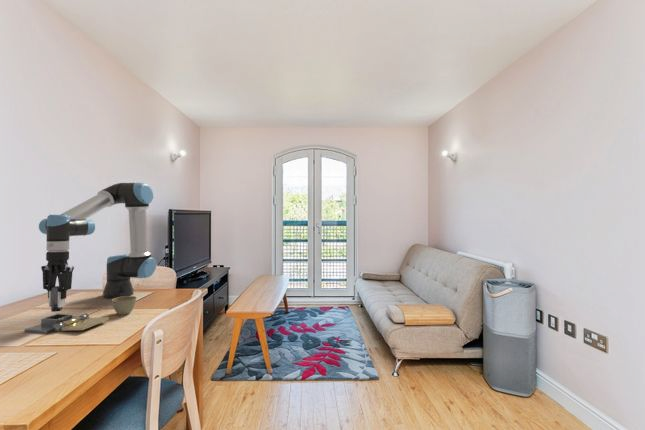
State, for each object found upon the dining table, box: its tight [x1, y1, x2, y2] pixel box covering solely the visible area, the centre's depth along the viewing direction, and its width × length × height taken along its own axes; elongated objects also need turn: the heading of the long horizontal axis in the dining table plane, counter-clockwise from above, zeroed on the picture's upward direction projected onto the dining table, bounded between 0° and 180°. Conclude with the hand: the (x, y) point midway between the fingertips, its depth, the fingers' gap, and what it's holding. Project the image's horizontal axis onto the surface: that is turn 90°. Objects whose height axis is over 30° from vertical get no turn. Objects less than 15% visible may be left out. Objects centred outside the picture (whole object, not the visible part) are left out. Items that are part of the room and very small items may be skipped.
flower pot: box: [111, 295, 137, 316], centre depth 153 cm, size 10×10×7 cm
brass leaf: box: [60, 315, 110, 332], centre depth 135 cm, size 13×13×3 cm
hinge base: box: [24, 313, 90, 334], centre depth 136 cm, size 18×13×4 cm
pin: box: [50, 285, 63, 313], centre depth 136 cm, size 4×4×10 cm
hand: (56, 306), depth 136 cm, fingers closed on pin, 3 cm apart
